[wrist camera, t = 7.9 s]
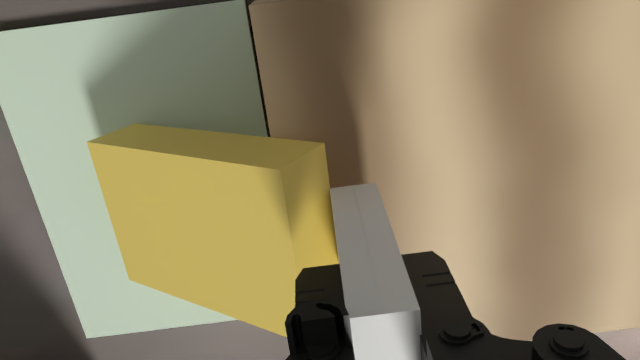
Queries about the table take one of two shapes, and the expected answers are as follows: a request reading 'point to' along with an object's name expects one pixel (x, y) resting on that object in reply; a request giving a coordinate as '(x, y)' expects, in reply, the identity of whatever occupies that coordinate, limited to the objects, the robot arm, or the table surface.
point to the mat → (113, 114)
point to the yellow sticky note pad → (218, 215)
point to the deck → (479, 139)
